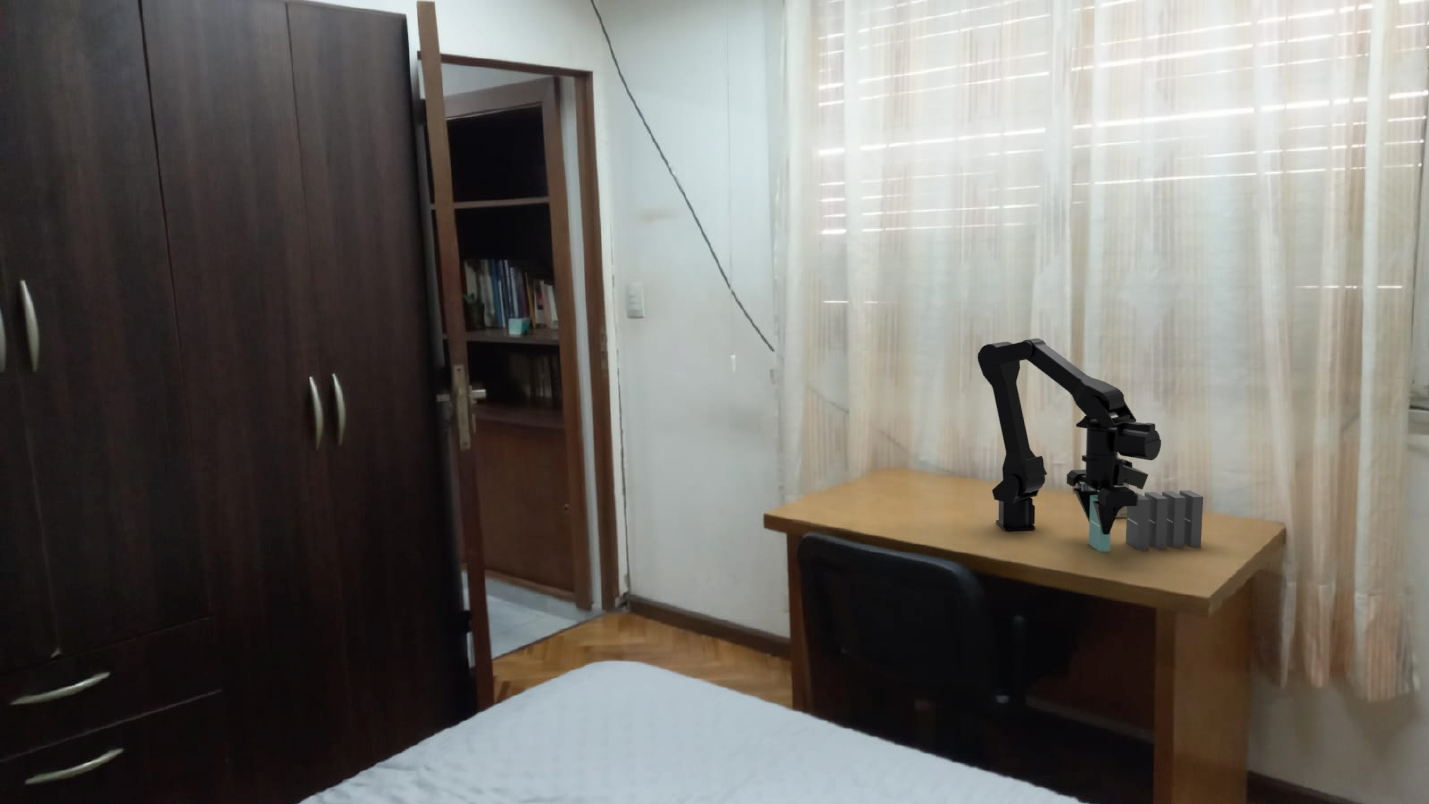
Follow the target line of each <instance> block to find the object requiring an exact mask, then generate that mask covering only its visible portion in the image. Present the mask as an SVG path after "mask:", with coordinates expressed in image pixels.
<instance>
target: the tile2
mask: <svg viewBox="0 0 1429 804" xmlns="http://www.w3.org/2000/svg"><path fill="white" fill-rule="evenodd" d="M1135 493H1136V494H1137V495H1138V505H1137V506H1127V517H1126V524H1125V525H1126V526H1125V527H1126V528H1125V543H1127V544H1129V545H1130V546H1132V547H1133V548H1134V549H1136V550H1139V551H1140V550H1143V551H1144V550H1148V549H1149V544H1148V534H1149V507H1150V499H1148V498H1146V497H1145V495H1142V494H1140V493H1139V492H1135Z"/></svg>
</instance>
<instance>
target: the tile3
mask: <svg viewBox="0 0 1429 804" xmlns="http://www.w3.org/2000/svg"><path fill="white" fill-rule="evenodd" d="M1144 497H1146V498H1148V499H1150V507H1149V534H1148V546H1149V547H1152V548H1153V549H1155V550H1163V549H1166V545H1167V544H1166V527H1167V502H1168V498H1166V497H1164V496H1162V494H1159V493H1157V492H1155V491H1150V492H1149V491H1147V492H1144Z"/></svg>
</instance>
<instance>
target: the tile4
mask: <svg viewBox="0 0 1429 804" xmlns="http://www.w3.org/2000/svg"><path fill="white" fill-rule="evenodd" d="M1161 495H1162V496H1164V497H1166V498H1168V502H1167V527H1166V545H1168V546H1169V547H1171V548H1172V549H1175V548H1177V549H1179V548H1184V543H1183V542H1184V519H1185V497H1183V496H1181V495H1179V493H1177V492H1175V491H1172V490H1169V491H1168V490H1166V491H1162V492H1161Z"/></svg>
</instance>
